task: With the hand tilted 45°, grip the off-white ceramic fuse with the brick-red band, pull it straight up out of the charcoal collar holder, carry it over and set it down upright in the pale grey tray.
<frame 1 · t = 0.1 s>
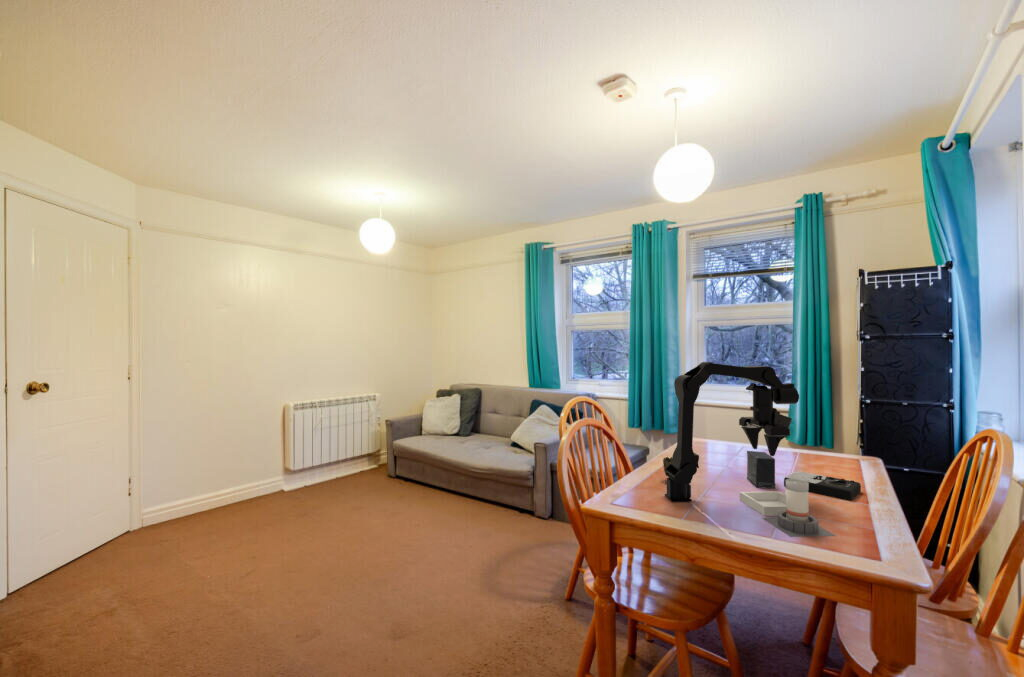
hand: (763, 452, 144), 15 cm above the table, tool pointing down, fingers open, 9 cm apart
multimeter: (821, 491, 151), on the table
cup: (673, 481, 161), on the table
fuse holder: (797, 530, 118), on the table
tray: (771, 510, 132), on the table
small box: (760, 484, 158), on the table
fuse: (797, 526, 118), point 1 cm above the table, touching fuse holder
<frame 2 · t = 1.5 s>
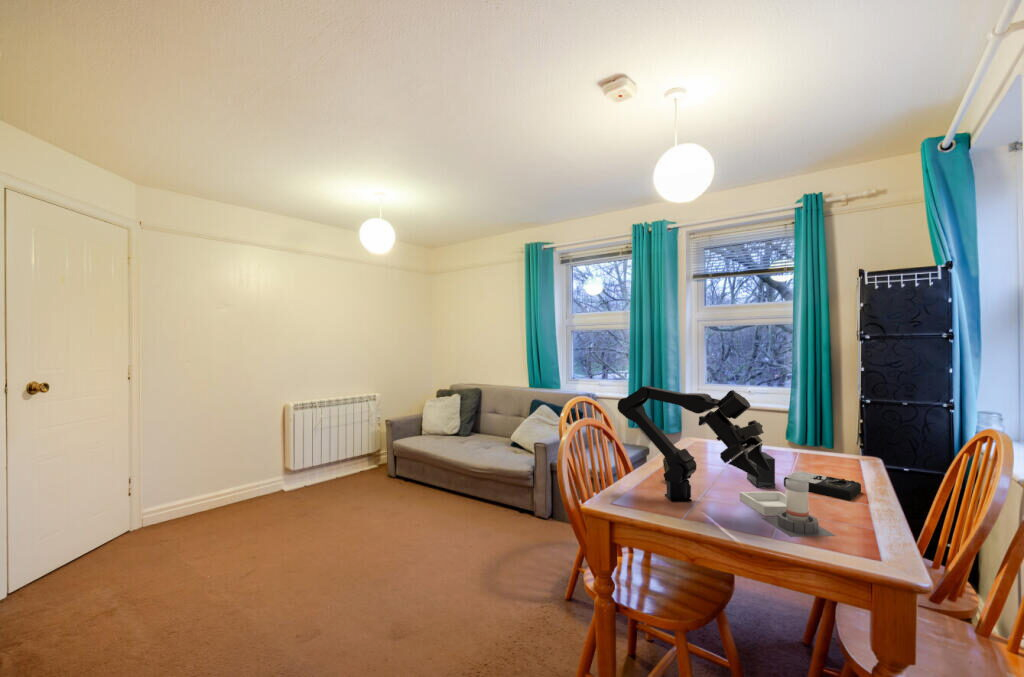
hand: (764, 473, 125), 13 cm above the table, tool tilted 45°, fingers open, 9 cm apart
nothing on the table moved.
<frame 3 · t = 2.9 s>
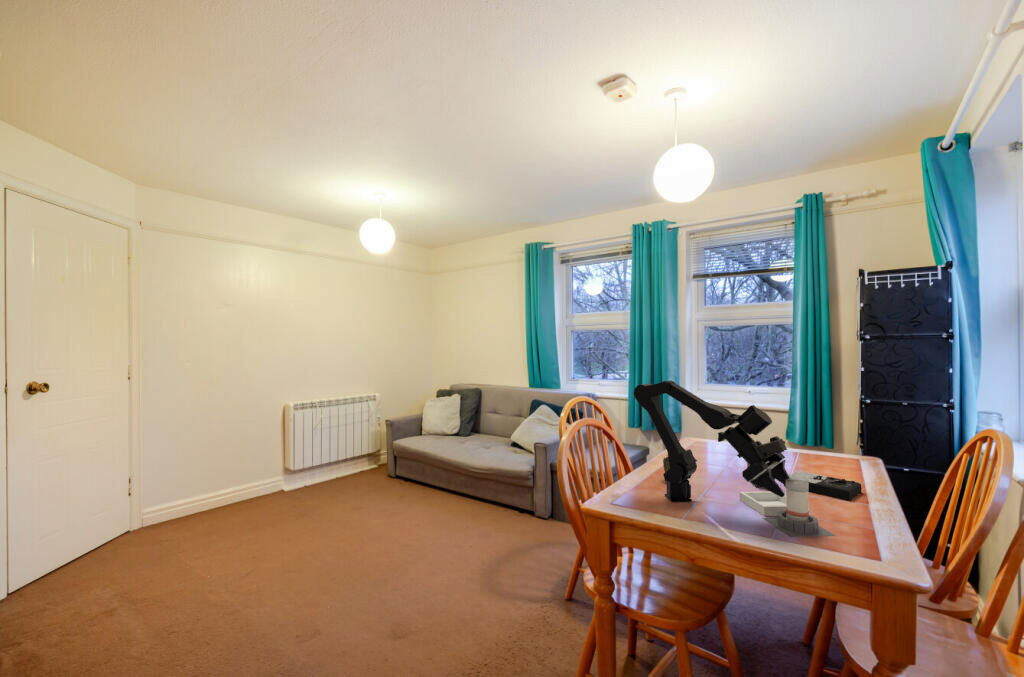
hand: (788, 492, 120), 10 cm above the table, tool tilted 45°, fingers open, 9 cm apart
nothing on the table moved.
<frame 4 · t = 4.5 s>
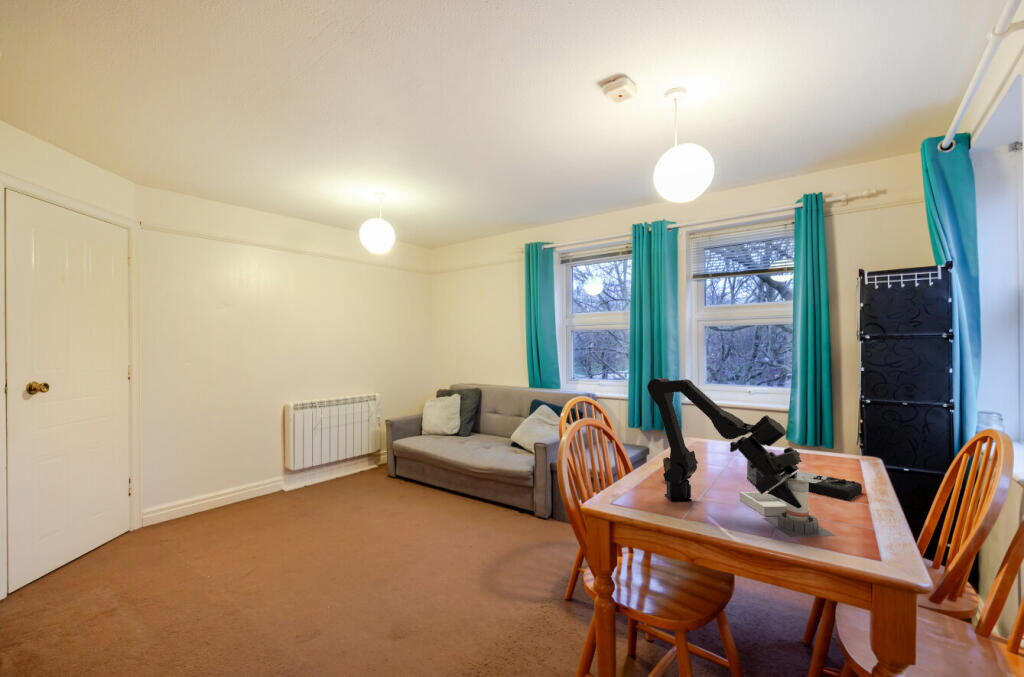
hand: (803, 505, 117), 7 cm above the table, tool tilted 45°, fingers closed on fuse, 5 cm apart
fuse: (797, 526, 118), point 1 cm above the table, touching fuse holder, gripper
everything else where it was.
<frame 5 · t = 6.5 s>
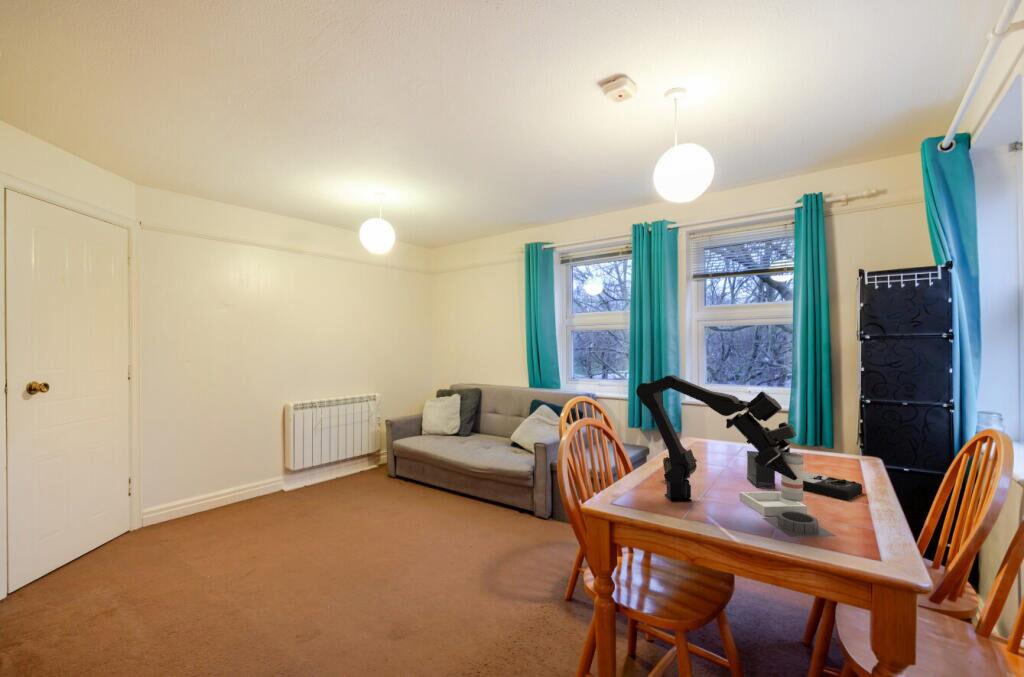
hand: (797, 477, 121), 13 cm above the table, tool tilted 45°, fingers closed on fuse, 5 cm apart
fuse: (792, 498, 122), point 7 cm above the table, touching gripper
everything else where it was.
when the fingers open (8 cm above the table, at t = 8.8 s): fuse drops 1 cm, resting on tray.
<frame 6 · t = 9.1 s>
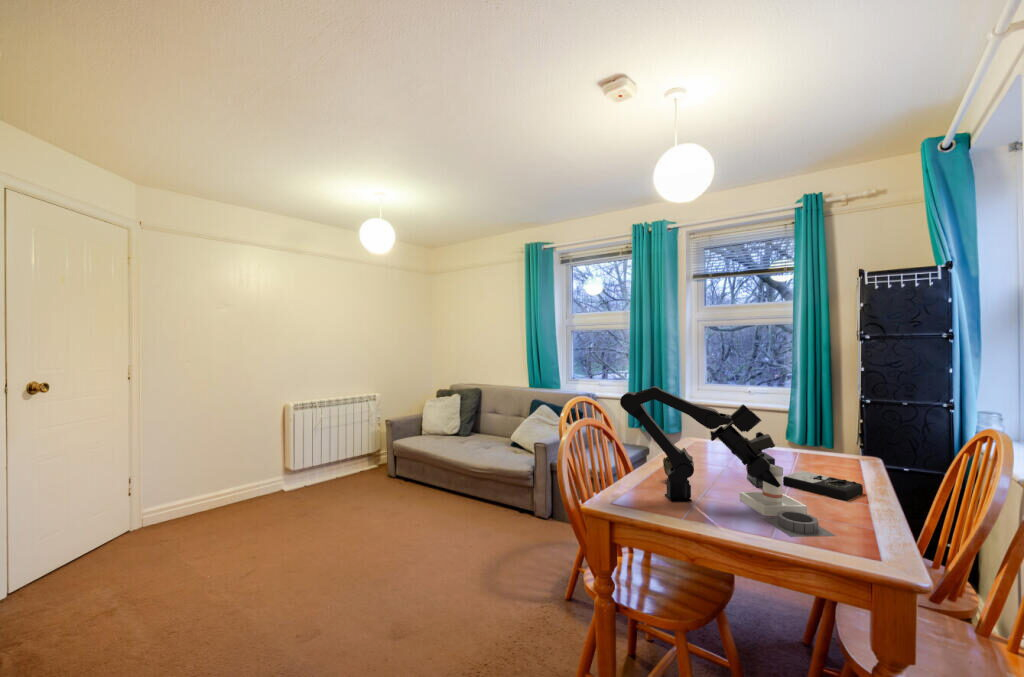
hand: (777, 482, 132), 9 cm above the table, tool tilted 45°, fingers open, 8 cm apart
fuse: (771, 506, 132), point 1 cm above the table, touching tray
everything else where it was.
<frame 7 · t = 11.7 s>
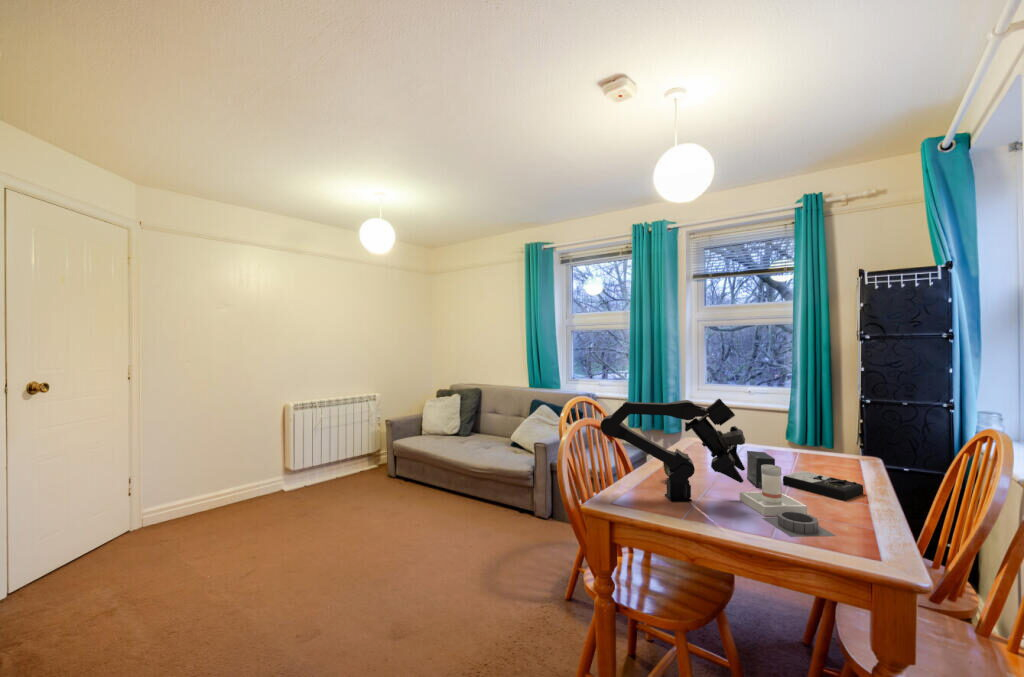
hand: (743, 475, 136), 9 cm above the table, tool tilted 40°, fingers open, 9 cm apart
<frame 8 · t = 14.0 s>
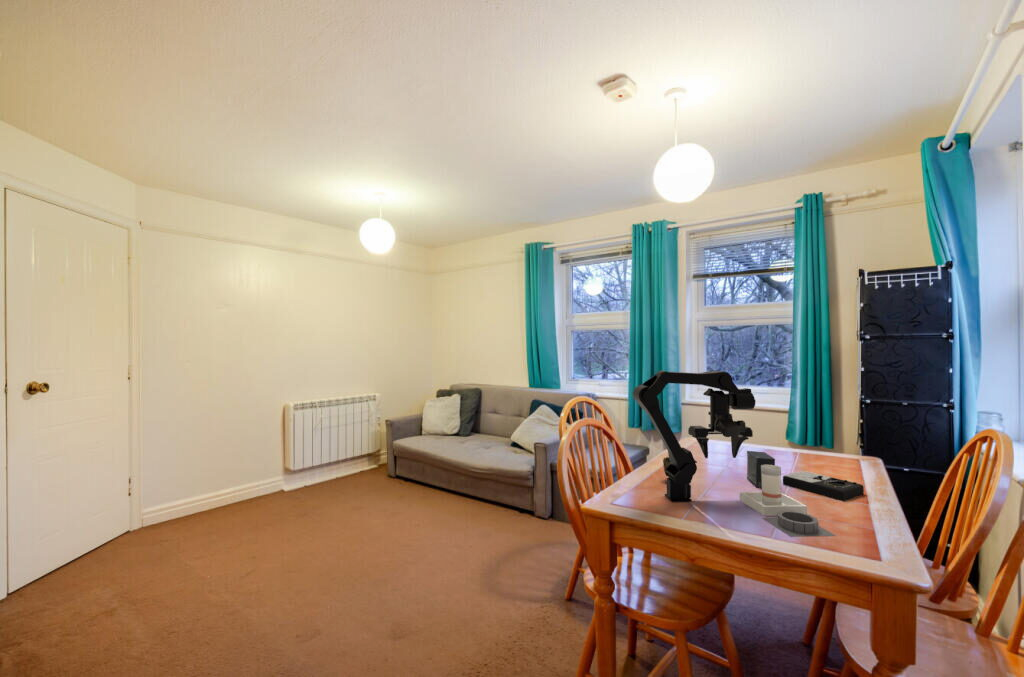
hand: (720, 457, 143), 13 cm above the table, tool pointing down, fingers open, 9 cm apart
at the end: fuse inside the target area on the tray (0.0 cm from its centre), point 1.0 cm above the tray's base; fuse tilted 1°; the gripper is holding nothing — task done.
